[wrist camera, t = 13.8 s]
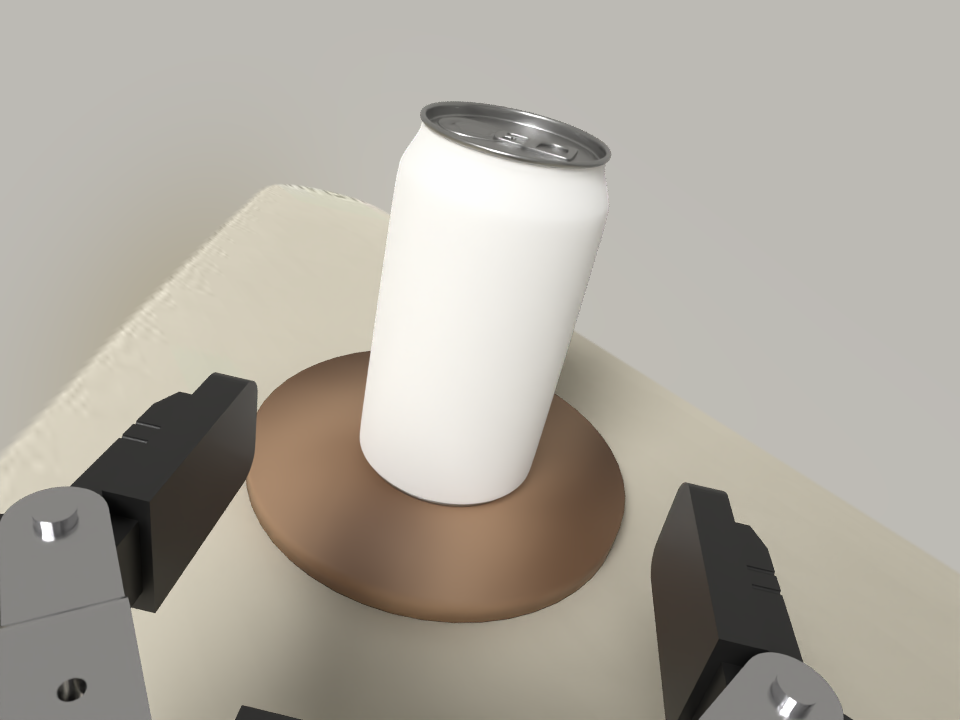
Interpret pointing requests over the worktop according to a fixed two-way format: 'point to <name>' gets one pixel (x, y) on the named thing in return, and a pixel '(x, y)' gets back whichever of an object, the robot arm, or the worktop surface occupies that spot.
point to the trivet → (427, 510)
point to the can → (479, 297)
